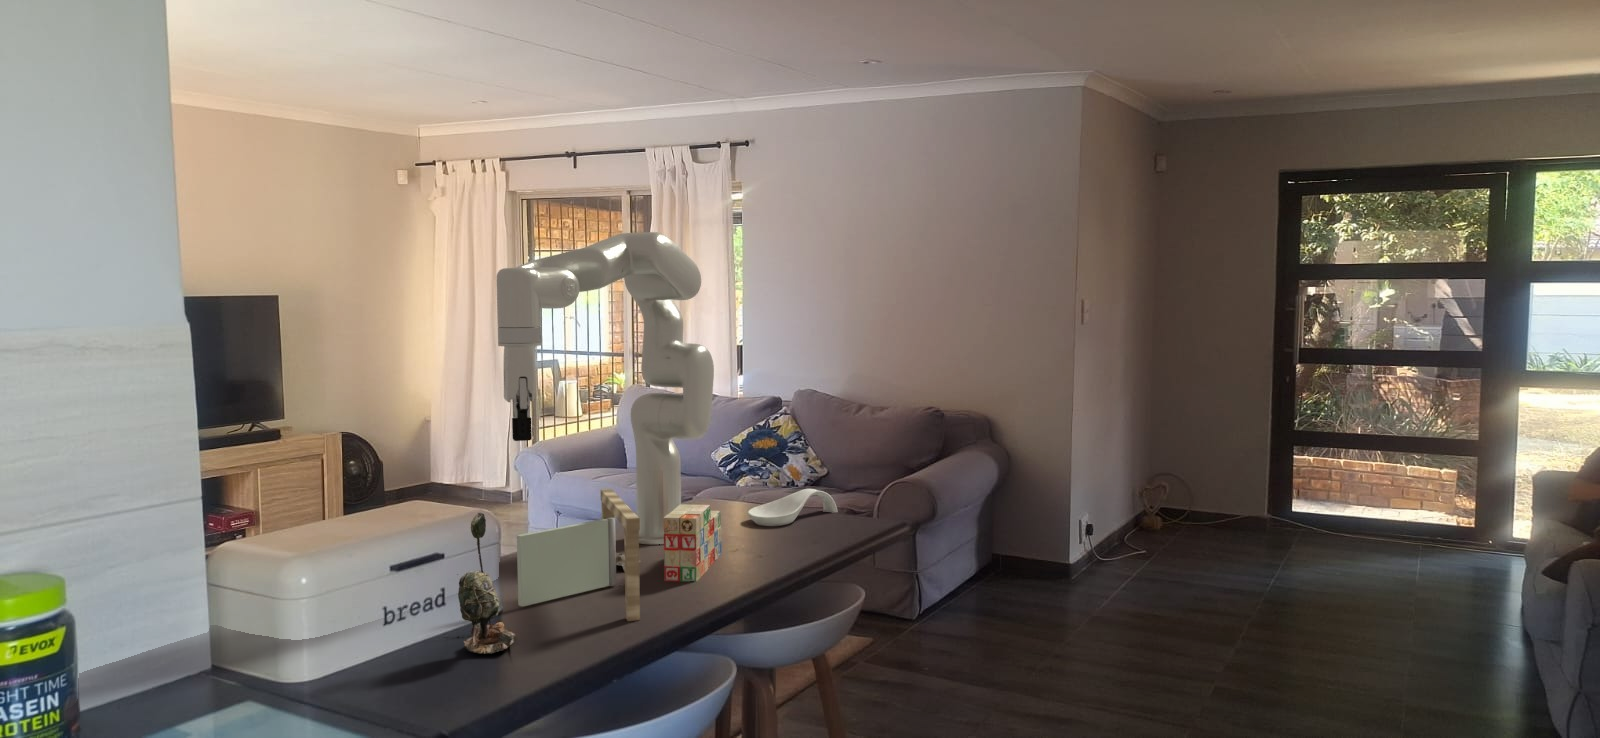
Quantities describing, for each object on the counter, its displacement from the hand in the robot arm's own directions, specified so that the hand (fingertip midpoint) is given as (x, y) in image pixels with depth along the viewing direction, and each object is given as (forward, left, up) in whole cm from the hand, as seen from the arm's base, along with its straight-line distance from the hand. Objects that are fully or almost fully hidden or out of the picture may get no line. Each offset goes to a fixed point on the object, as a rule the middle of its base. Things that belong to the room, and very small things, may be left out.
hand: (522, 439), depth 194 cm
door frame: (+4, +15, -27) cm, 31 cm away
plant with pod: (+32, -8, -27) cm, 42 cm away
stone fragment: (-11, +9, -26) cm, 30 cm away
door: (+4, +15, -27) cm, 31 cm away
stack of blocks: (-4, +32, -27) cm, 42 cm away
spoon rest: (-38, +64, -28) cm, 79 cm away
